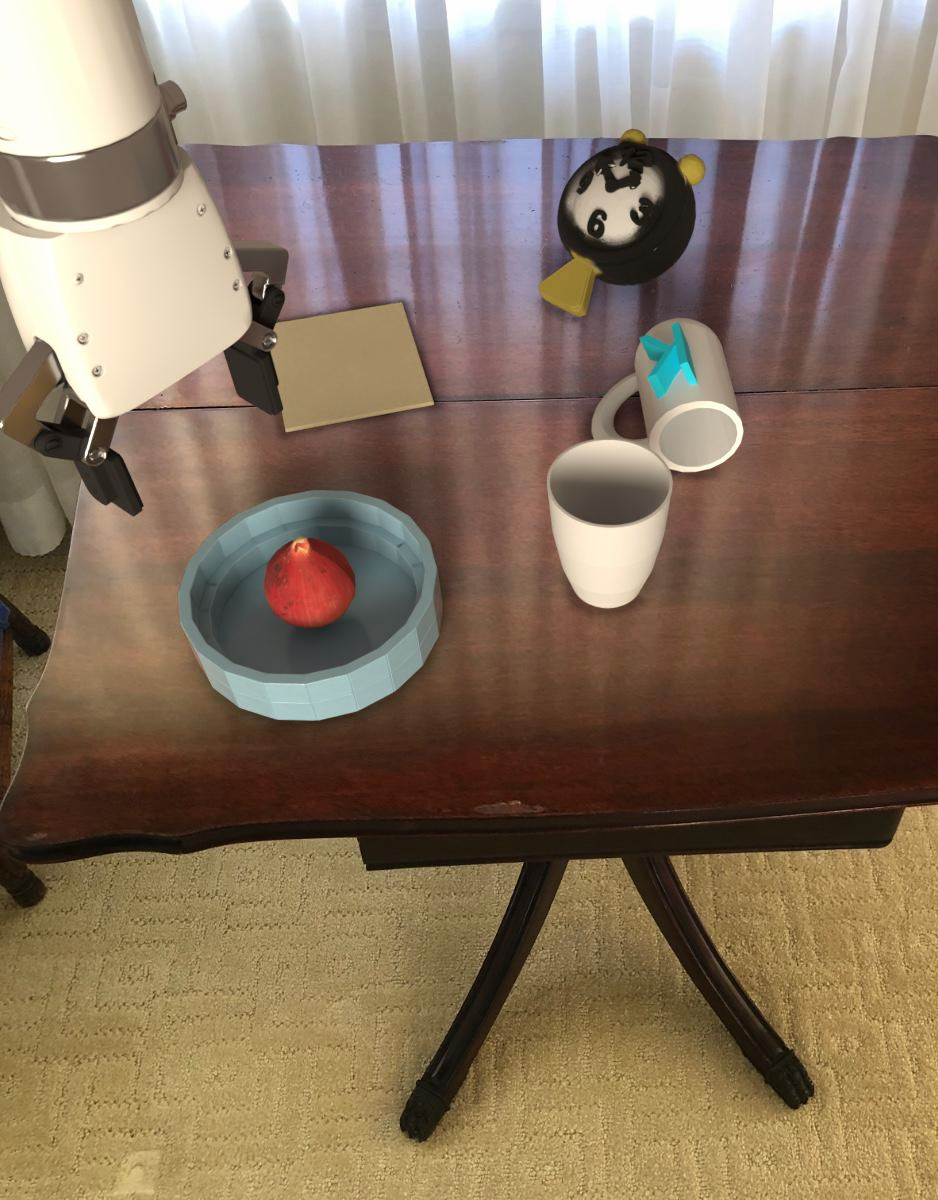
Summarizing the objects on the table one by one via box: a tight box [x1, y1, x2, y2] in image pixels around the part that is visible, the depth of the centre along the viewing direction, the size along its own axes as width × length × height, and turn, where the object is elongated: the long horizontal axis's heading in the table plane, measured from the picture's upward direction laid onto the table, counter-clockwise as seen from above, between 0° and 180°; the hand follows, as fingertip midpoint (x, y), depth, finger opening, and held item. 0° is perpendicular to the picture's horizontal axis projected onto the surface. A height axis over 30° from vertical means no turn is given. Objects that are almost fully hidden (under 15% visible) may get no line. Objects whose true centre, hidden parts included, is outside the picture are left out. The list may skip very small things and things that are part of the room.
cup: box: [546, 438, 674, 609], centre depth 75 cm, size 8×8×10 cm
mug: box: [591, 317, 744, 473], centre depth 86 cm, size 12×9×12 cm
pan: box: [177, 489, 444, 722], centre depth 74 cm, size 17×17×4 cm
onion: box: [263, 536, 356, 628], centre depth 72 cm, size 6×6×8 cm
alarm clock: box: [537, 128, 707, 317], centre depth 98 cm, size 12×15×15 cm
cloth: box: [271, 301, 435, 433], centre depth 93 cm, size 12×14×1 cm
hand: (193, 450), depth 60 cm, fingers open, 9 cm apart
